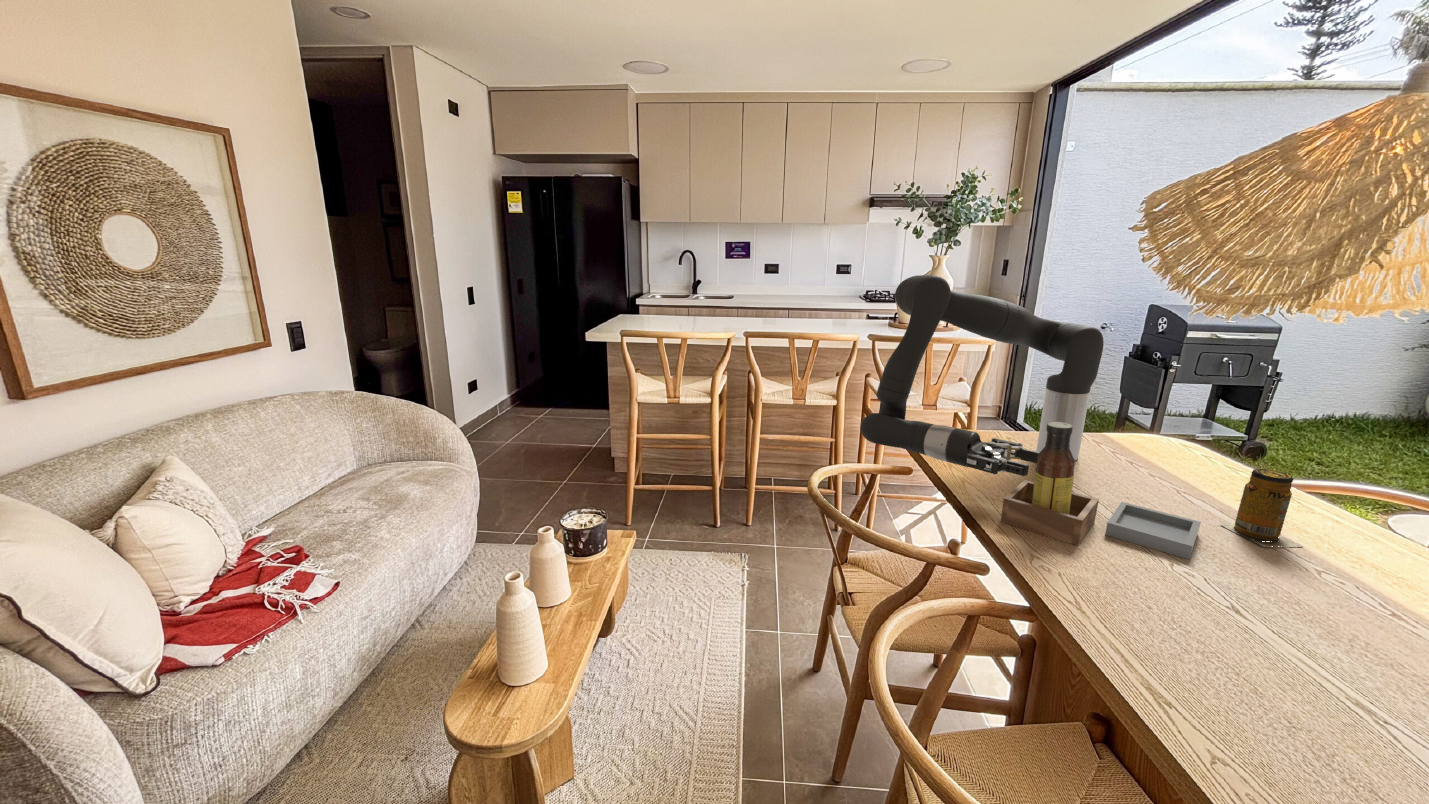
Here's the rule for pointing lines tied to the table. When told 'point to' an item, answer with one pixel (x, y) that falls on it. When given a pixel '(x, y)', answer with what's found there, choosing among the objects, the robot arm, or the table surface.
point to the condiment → (1264, 508)
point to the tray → (1154, 529)
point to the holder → (1049, 515)
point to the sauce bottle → (1055, 470)
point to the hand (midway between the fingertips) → (1035, 464)
